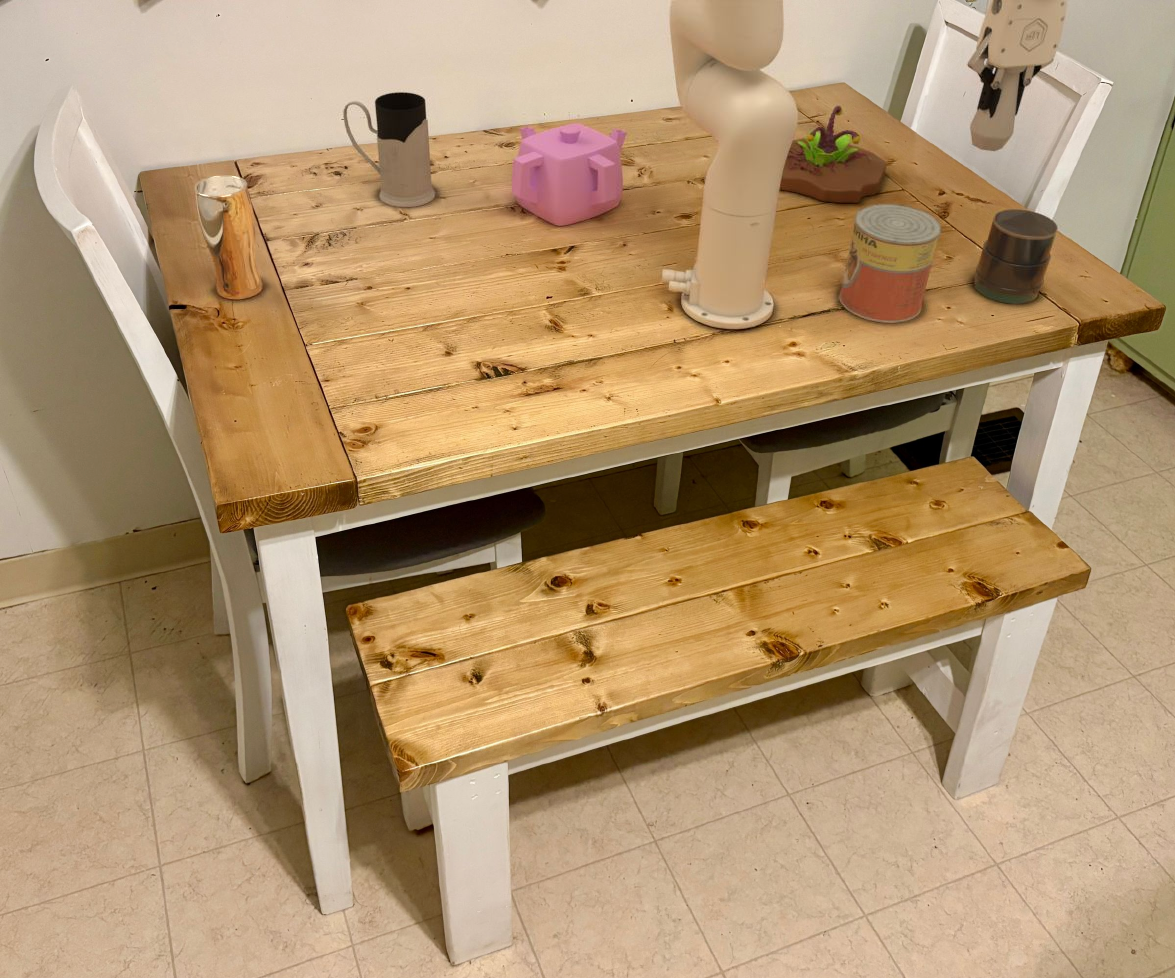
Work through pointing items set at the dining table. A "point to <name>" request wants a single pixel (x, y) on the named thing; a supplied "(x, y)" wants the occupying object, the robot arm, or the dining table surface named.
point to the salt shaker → (998, 115)
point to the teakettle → (568, 173)
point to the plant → (832, 166)
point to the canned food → (889, 262)
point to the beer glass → (229, 234)
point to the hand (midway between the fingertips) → (996, 112)
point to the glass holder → (400, 148)
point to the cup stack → (1015, 256)
